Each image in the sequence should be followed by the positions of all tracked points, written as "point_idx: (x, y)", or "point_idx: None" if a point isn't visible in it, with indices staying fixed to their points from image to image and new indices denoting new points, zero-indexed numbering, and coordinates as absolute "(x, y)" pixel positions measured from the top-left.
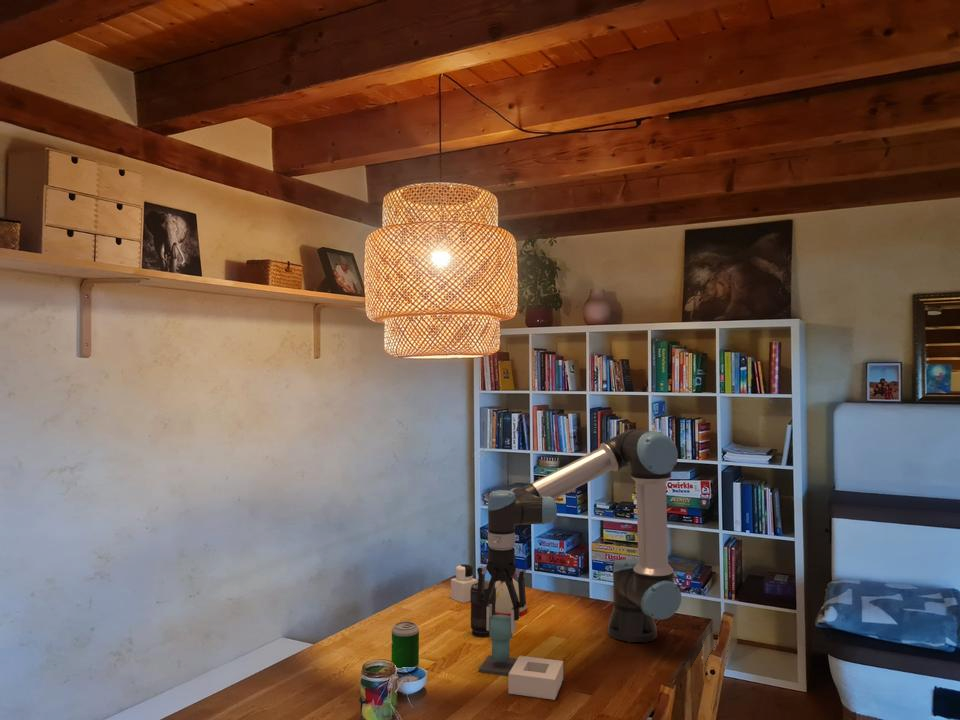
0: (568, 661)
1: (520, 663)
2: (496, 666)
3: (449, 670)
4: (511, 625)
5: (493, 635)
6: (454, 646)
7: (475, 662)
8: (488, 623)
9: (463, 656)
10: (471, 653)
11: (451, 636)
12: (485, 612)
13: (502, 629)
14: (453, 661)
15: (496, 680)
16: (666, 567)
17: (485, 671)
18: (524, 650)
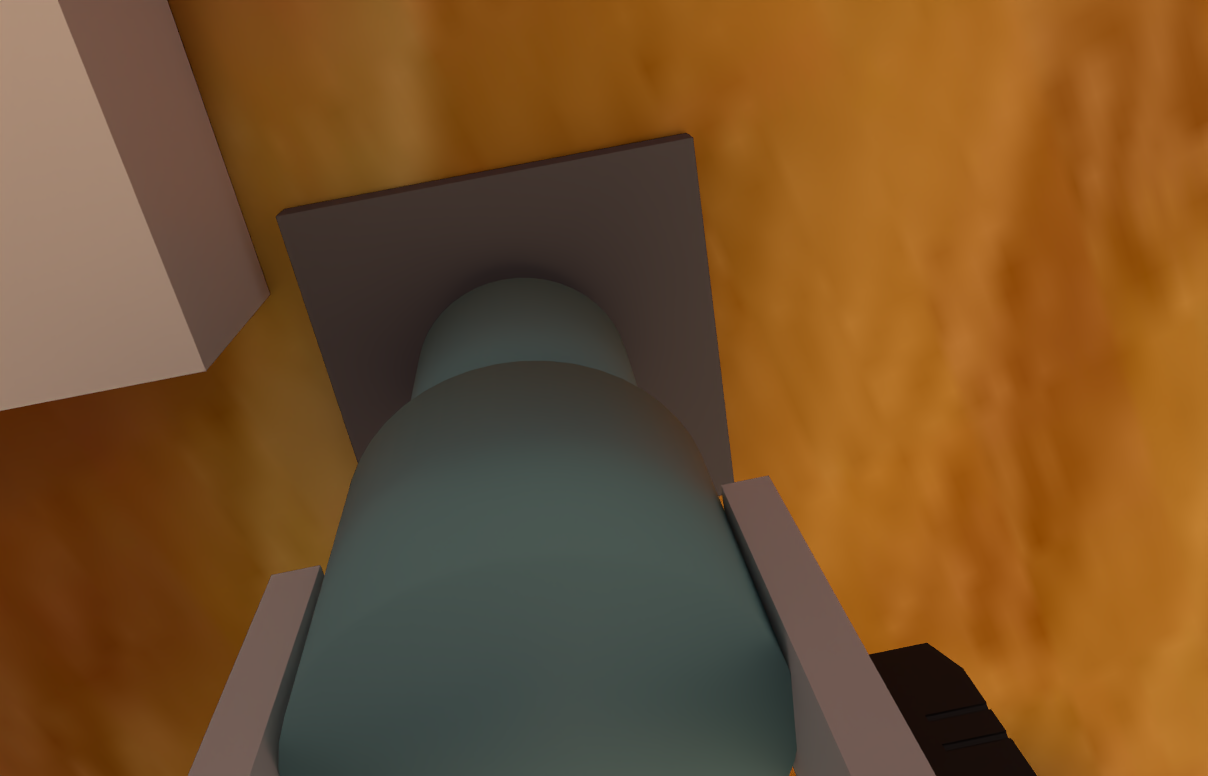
0: (41, 738)
1: (18, 128)
2: None
3: (1001, 17)
4: (275, 665)
5: (586, 392)
6: (1110, 540)
7: (809, 333)
8: (768, 558)
9: (967, 398)
10: (916, 488)
11: (1185, 686)
12: (939, 733)
13: (404, 490)
14: (1026, 250)
15: (406, 24)
16: None
17: (609, 150)
18: None
